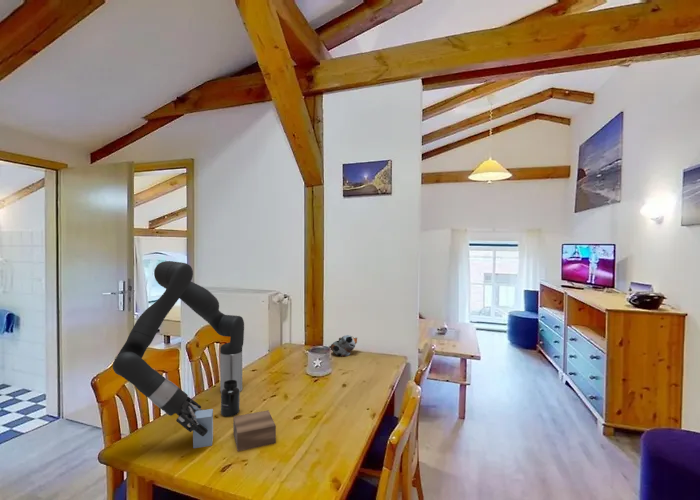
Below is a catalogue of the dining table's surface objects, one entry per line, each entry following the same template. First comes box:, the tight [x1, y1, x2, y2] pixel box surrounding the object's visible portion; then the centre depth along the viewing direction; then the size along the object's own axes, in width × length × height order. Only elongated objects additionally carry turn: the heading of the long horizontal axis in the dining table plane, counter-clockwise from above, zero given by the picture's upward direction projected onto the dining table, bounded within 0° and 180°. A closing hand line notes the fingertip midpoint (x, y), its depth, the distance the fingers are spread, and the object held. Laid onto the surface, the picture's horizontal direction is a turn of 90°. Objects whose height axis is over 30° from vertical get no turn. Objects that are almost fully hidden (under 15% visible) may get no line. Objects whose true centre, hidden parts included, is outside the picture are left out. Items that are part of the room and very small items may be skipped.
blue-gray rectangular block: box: [192, 408, 214, 449], centre depth 119 cm, size 6×6×10 cm
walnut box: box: [232, 410, 277, 452], centre depth 122 cm, size 12×12×6 cm
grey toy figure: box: [328, 334, 358, 358], centre depth 214 cm, size 15×12×14 cm
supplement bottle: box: [220, 380, 241, 417], centre depth 140 cm, size 7×7×12 cm
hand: (206, 427), depth 119 cm, fingers open, 8 cm apart
